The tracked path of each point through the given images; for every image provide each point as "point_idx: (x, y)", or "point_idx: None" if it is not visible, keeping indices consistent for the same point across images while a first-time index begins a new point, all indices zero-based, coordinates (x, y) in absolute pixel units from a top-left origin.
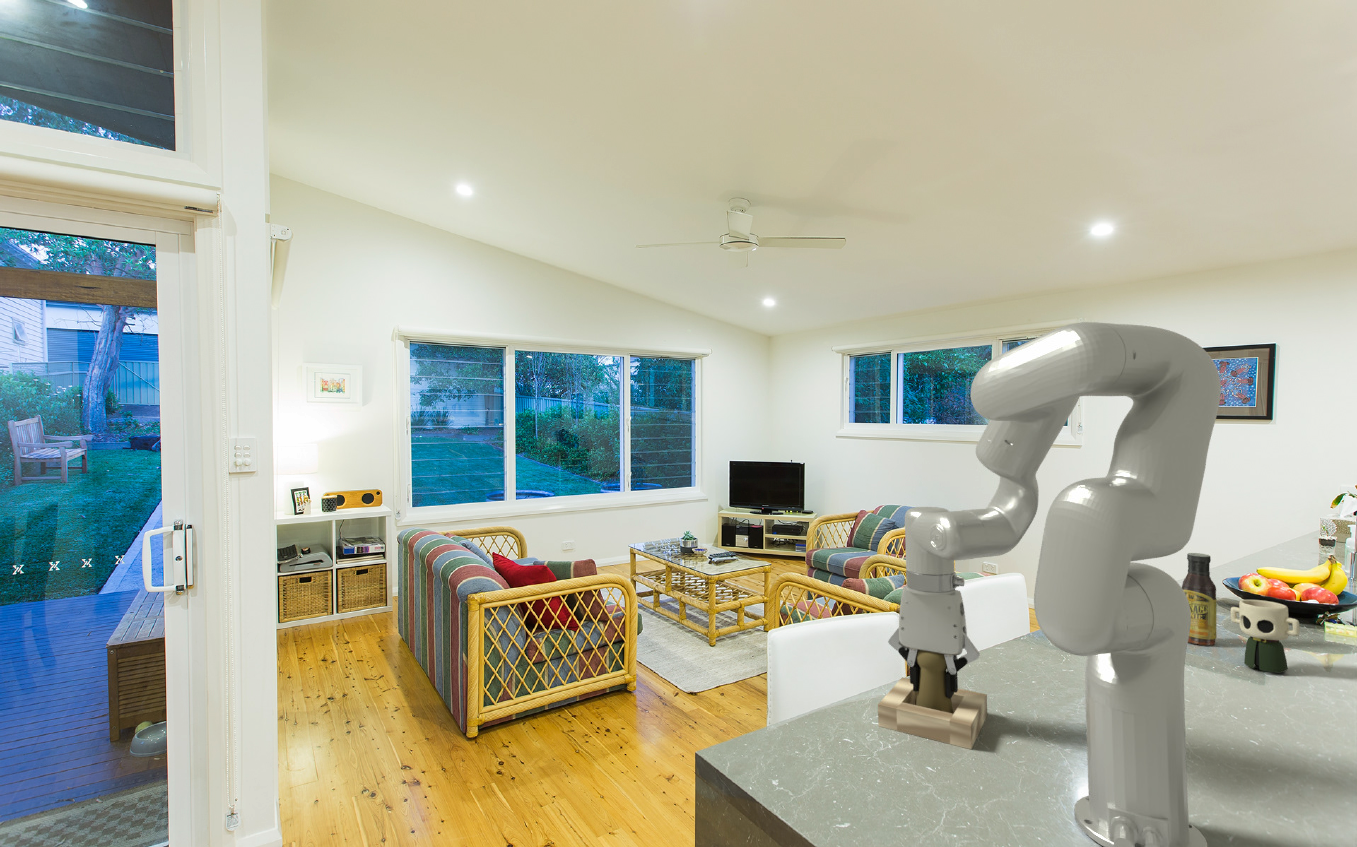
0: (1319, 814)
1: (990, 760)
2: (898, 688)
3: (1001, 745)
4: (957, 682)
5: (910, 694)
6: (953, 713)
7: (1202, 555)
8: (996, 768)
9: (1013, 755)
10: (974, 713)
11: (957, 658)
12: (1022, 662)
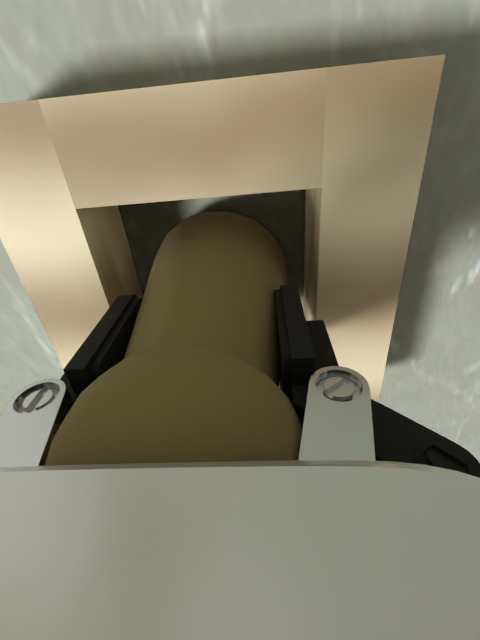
0: None
1: (400, 396)
2: (45, 281)
3: (433, 313)
4: (328, 338)
5: (107, 280)
6: (287, 277)
7: None
8: (412, 418)
9: (460, 348)
10: (381, 340)
11: (372, 440)
12: None
